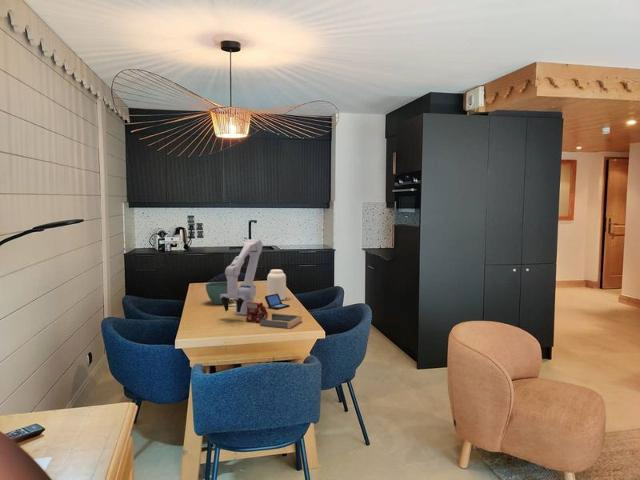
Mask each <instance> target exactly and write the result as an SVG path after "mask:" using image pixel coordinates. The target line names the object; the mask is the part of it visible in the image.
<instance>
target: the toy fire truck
mask: <svg viewBox="0 0 640 480" xmlns="http://www.w3.org/2000/svg"><path fill="white" fill-rule="evenodd" d="M246 307H247V315H246V319H245V320H246V321H247V322H249V323H252V322H253V321H255V322H256V323H258V324H260V320H261V319H264V320H268V319H269V317H268V316H269V315H268V310H267V308H266V306H265V305H264V303H263V302H260V303H259V302H247V303H246Z"/></svg>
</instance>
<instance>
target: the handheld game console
mask: <svg viewBox="0 0 640 480" xmlns="http://www.w3.org/2000/svg"><path fill="white" fill-rule="evenodd" d="M264 299H265V302H266V304H267V307H268V309H270V310H275V311H276V310H277V311H279V310H283V309H286V308H289V307H291V306H290V304H285V303H283V302H282V300H280V297H279V295H278V294H273V295H268V296H267V295H265V296H264Z"/></svg>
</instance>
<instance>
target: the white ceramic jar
mask: <svg viewBox="0 0 640 480" xmlns="http://www.w3.org/2000/svg"><path fill="white" fill-rule="evenodd" d="M266 279H267V282H266V286H267V288H266V289H267V290H266V291H267V293H266V294H267V295H266V296H268V295H273V294H278V295H279V297H280V300H281V301H285V300H286V298H287V296H286V295H287V291H286V290H287V276H286V273H284V270H282V269H277V268H274V269H270V271H269V273H268V274H267V277H266Z"/></svg>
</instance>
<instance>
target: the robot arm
mask: <svg viewBox="0 0 640 480" xmlns="http://www.w3.org/2000/svg"><path fill="white" fill-rule="evenodd" d="M242 244H243V245H242V246H243V247H242V249H241V251H240V253H239V255H237V256H235V257H234V259H233V260H232V262H231V264H230V265H228V266H227V267H226V268H225V271H224V274H225V278H226V282H227V294H221V295H220V298H222V299H221V301H222V303H223V304H222V305H223V307H224V311H225V312H228V311H229V303H230V299H233V300H234V299H236V300H235V315H242V316H245V315H246V316H247V307H246V303H247V302H253V299H255V297H256V293H257V291H256V289H257V286H256V285H255V284H254V278H255V276H256V271H257V267H258V264H259V260H260V255H261V253H262V249H263V241H262V240H261V239H250V238H249V239H248V238H246V239H245V240H244V242H243V243H242ZM247 256H249V260H248V264H247V268H246V272H245V277H244V281H242V282H240V283H239V282H238V281H239V280H238V279H239V278H238V277H239V276H240V274H241V268H242V267H243V265H244V263H245V258H246V257H247ZM238 284H239V285H238ZM229 298H230V299H229Z"/></svg>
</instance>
